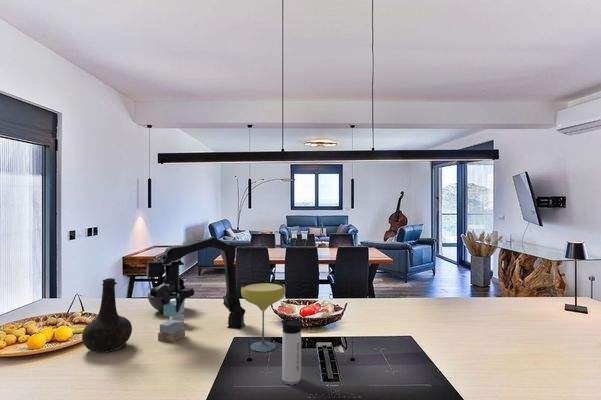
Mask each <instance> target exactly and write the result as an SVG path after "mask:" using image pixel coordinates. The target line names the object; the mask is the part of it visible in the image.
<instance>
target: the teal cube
mask: <svg viewBox="0 0 601 400" xmlns="http://www.w3.org/2000/svg"><path fill="white" fill-rule="evenodd" d="M178 314H180V310H179V312H176V303H175V302H170V303H167V304H165V305H164V312H163V316H164V317H170V316H173V317H174V316H176V315H178Z"/></svg>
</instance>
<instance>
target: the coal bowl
mask: <svg viewBox="0 0 601 400" xmlns="http://www.w3.org/2000/svg"><path fill="white" fill-rule="evenodd" d="M163 279H165V275H162V277H159V278H158V281H157V282H156V283H155V285H154V287H157V286H160V285H162V284H163ZM179 286H181V289H179V290H183V289H185V288H186V286H185V280H184V279H182V278H181V280H179ZM156 296H157V295H150V292H148V293H147V299H148V301H149V304H150V306H151V307H152V308H154V310H157V311H159V312H163V313H164V305H163V303H162V301H161V299H160V298H158V297H156ZM176 297H178V294H170V297H169V303H170V299H175V298H176ZM186 299H187V298H185V299H184V302H185V300H186Z"/></svg>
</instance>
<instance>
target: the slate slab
mask: <svg viewBox="0 0 601 400" xmlns="http://www.w3.org/2000/svg"><path fill="white" fill-rule="evenodd" d="M184 324H185V320H184V321H178V320H170V319H168V320H167V321H164V322H163V323H160V324H159V332H160V333H165V334H172V335H174V334H175V333H177V332H179V331H181V330H183V329H185V328H184V326H185V325H184Z"/></svg>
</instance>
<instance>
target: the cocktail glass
mask: <svg viewBox="0 0 601 400" xmlns="http://www.w3.org/2000/svg"><path fill="white" fill-rule="evenodd" d="M240 293H241V297H242V298H243V299H244V300H245V301H246V302H248V303H250V304H252V305H255V306H256V307H258V308H259V310H260V311H261V312H262V314H261V315H262V319H261V320H262V322H261V324H262V326H261V327H262V329H261V333H262V334H261V341H257V342H253V343H252V345H251V344H250V345H251V346H250V345H249V348H250V347H251V349H252V350H256V351H261V352H260V353H268V352H267V351H269V352H272V351H274V350H275V349H276V348H277V344H275V343H274V342H271V341H266V340H265V311H266V310H267V309H268V307H270V306H271V305H273V304H275V303H276V304H277V302H279V301H280V300H282V299H283V298H284V297H285V295H286V286H285V284H283V283H281V282H277V281H276V282H275V281H252V282H247V283H245V284H242V286H241V288H240ZM251 349H250V350H251ZM273 349H274V350H273ZM252 350H251V351H252ZM271 350H272V351H271ZM262 351H263V352H262Z"/></svg>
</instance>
